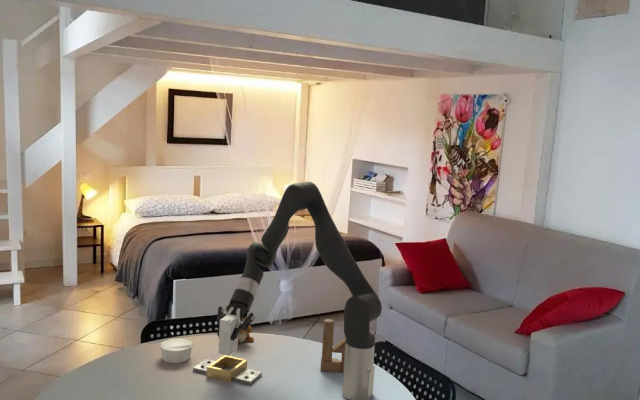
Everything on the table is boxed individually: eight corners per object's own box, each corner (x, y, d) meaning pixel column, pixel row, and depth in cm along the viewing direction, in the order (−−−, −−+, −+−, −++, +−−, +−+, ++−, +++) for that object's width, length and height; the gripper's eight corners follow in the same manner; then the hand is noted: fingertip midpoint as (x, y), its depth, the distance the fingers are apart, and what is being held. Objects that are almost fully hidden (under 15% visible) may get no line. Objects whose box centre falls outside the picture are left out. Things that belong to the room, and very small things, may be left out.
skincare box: (226, 347, 187) (227, 313, 185) (238, 349, 186) (239, 315, 184) (217, 354, 181) (218, 319, 180) (229, 356, 180) (230, 321, 178)
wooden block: (351, 373, 190) (354, 323, 187) (320, 371, 190) (323, 321, 187) (350, 368, 193) (354, 320, 191) (320, 367, 193) (323, 318, 191)
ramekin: (175, 367, 186) (176, 353, 185) (153, 359, 192) (153, 344, 191) (198, 357, 196) (199, 343, 195) (176, 349, 201) (177, 335, 201)
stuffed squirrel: (233, 347, 206) (234, 314, 204) (217, 335, 217) (218, 303, 215) (256, 343, 211) (258, 310, 210) (240, 331, 223) (241, 300, 221)
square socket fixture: (263, 373, 185) (264, 363, 185) (248, 387, 175) (248, 376, 175) (208, 360, 193) (208, 351, 193) (190, 372, 183) (190, 362, 182)
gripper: (223, 284, 190) (203, 329, 180) (259, 291, 185) (240, 337, 175) (230, 295, 196) (211, 339, 186) (266, 302, 191) (248, 347, 181)
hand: (225, 338), depth 181 cm, fingers closed on skincare box, 4 cm apart
